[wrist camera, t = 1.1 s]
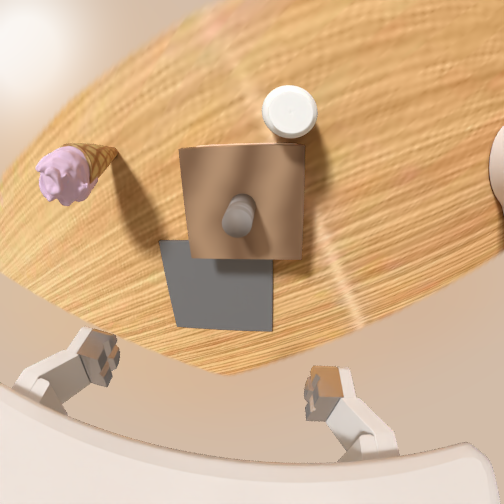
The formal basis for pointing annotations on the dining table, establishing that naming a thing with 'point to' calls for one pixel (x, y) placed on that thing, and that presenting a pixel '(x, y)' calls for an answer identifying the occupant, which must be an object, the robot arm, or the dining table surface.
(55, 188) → the ice cream cone
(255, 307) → the mat
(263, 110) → the pill bottle
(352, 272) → the dining table surface
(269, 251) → the lid
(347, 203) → the dining table surface
